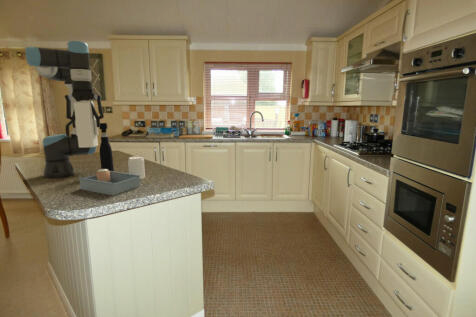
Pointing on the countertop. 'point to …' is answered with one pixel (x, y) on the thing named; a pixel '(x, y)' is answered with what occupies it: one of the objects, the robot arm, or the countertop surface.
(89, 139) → the milk
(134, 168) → the beverage can
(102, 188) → the tote
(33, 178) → the countertop surface
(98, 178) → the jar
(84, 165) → the countertop surface
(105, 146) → the wine bottle
